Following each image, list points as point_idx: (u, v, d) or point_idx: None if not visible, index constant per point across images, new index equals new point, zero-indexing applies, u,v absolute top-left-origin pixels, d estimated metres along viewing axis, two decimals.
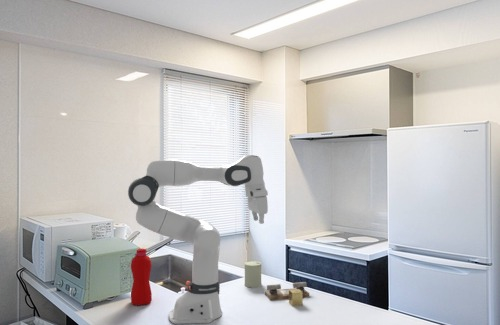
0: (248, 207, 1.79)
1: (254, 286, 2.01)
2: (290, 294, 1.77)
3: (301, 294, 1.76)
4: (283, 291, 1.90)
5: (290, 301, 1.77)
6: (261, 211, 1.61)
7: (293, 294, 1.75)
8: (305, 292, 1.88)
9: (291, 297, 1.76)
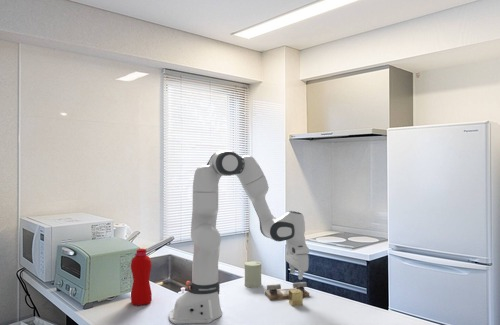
0: None
1: (254, 286, 2.01)
2: (290, 294, 1.77)
3: (301, 294, 1.76)
4: (283, 291, 1.90)
5: (290, 301, 1.77)
6: (302, 269, 1.68)
7: (293, 294, 1.75)
8: (305, 292, 1.88)
9: (291, 297, 1.76)
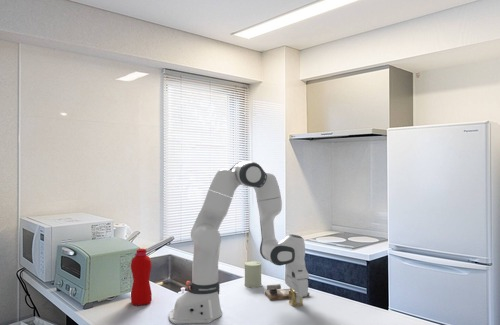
0: (285, 281, 1.86)
1: (254, 286, 2.01)
2: (290, 294, 1.77)
3: None
4: (283, 291, 1.90)
5: (290, 301, 1.77)
6: (302, 294, 1.67)
7: (293, 294, 1.75)
8: None
9: (291, 297, 1.76)
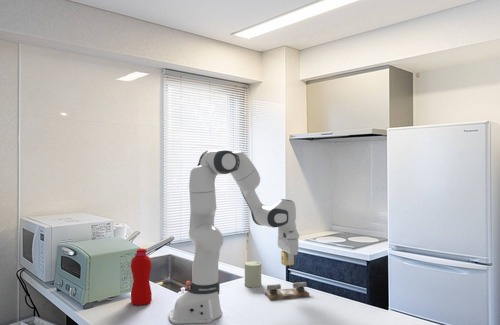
0: None
1: (254, 286, 2.01)
2: (282, 254, 1.88)
3: None
4: (283, 291, 1.90)
5: (282, 261, 1.88)
6: (292, 253, 1.79)
7: (285, 254, 1.86)
8: (305, 292, 1.88)
9: (283, 257, 1.87)
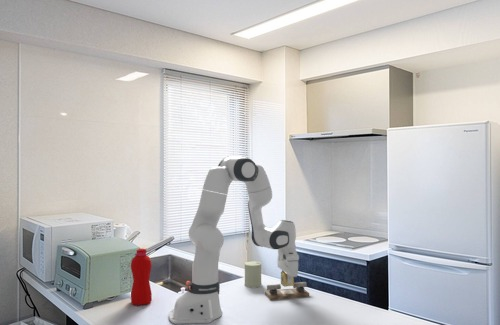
0: None
1: (254, 286, 2.01)
2: (282, 275, 1.88)
3: None
4: (283, 291, 1.90)
5: (282, 282, 1.88)
6: (292, 275, 1.79)
7: (284, 275, 1.86)
8: (305, 292, 1.88)
9: (283, 278, 1.87)
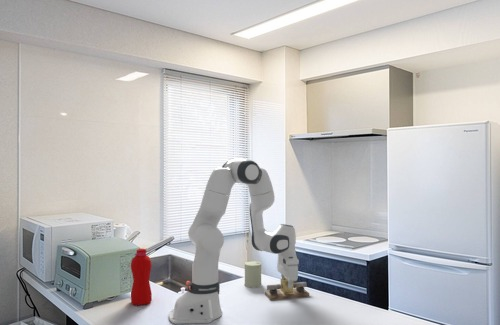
0: (277, 269, 1.97)
1: (254, 286, 2.01)
2: (282, 283, 1.88)
3: None
4: None
5: (282, 289, 1.88)
6: (292, 279, 1.79)
7: (284, 282, 1.86)
8: (305, 292, 1.88)
9: (282, 285, 1.87)
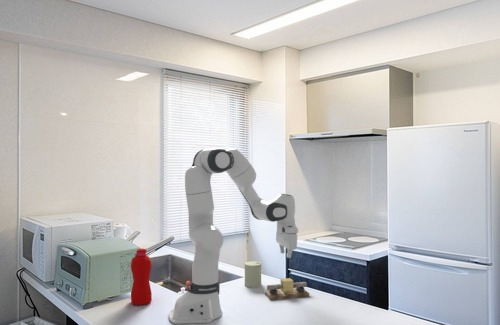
0: (276, 240, 1.96)
1: (254, 286, 2.01)
2: (282, 283, 1.88)
3: (291, 282, 1.87)
4: None
5: (282, 289, 1.88)
6: (291, 247, 1.78)
7: (284, 282, 1.86)
8: (305, 292, 1.88)
9: (282, 285, 1.87)
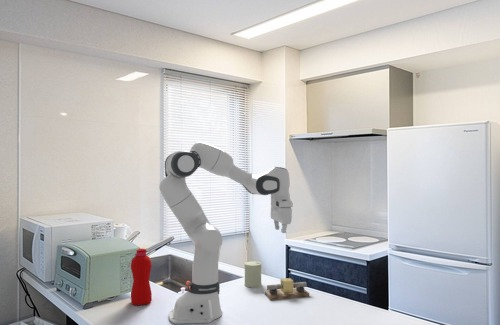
0: None
1: (254, 286, 2.01)
2: (282, 283, 1.88)
3: (291, 282, 1.87)
4: None
5: (282, 289, 1.88)
6: (285, 221, 1.70)
7: (284, 282, 1.86)
8: (305, 292, 1.88)
9: (282, 285, 1.87)
